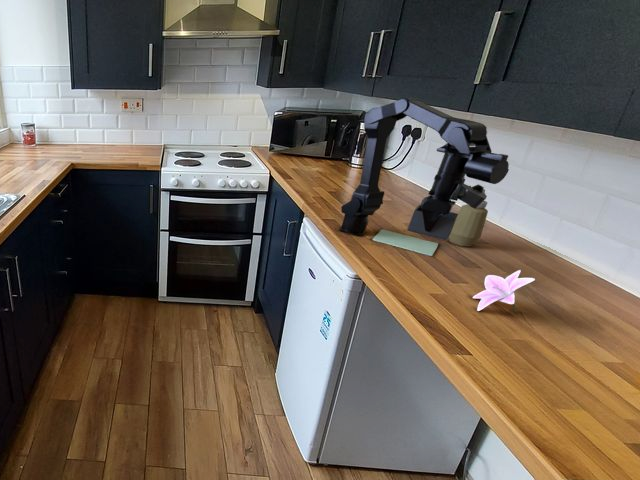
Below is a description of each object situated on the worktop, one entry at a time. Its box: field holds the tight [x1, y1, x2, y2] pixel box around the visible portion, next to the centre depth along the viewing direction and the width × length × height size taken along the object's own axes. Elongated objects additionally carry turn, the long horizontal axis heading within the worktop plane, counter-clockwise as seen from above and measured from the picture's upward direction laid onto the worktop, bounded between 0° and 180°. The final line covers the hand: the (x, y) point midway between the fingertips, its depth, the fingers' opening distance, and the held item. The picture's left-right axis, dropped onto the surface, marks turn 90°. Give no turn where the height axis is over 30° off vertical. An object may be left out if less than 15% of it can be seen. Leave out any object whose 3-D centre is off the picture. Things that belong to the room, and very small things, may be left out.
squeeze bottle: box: [448, 188, 489, 248], centre depth 124 cm, size 8×8×18 cm
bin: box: [406, 204, 458, 242], centre depth 109 cm, size 9×6×6 cm
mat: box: [372, 228, 439, 257], centre depth 127 cm, size 16×12×1 cm
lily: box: [472, 269, 536, 313], centre depth 92 cm, size 12×12×10 cm
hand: (429, 228), depth 109 cm, fingers closed on bin, 6 cm apart
